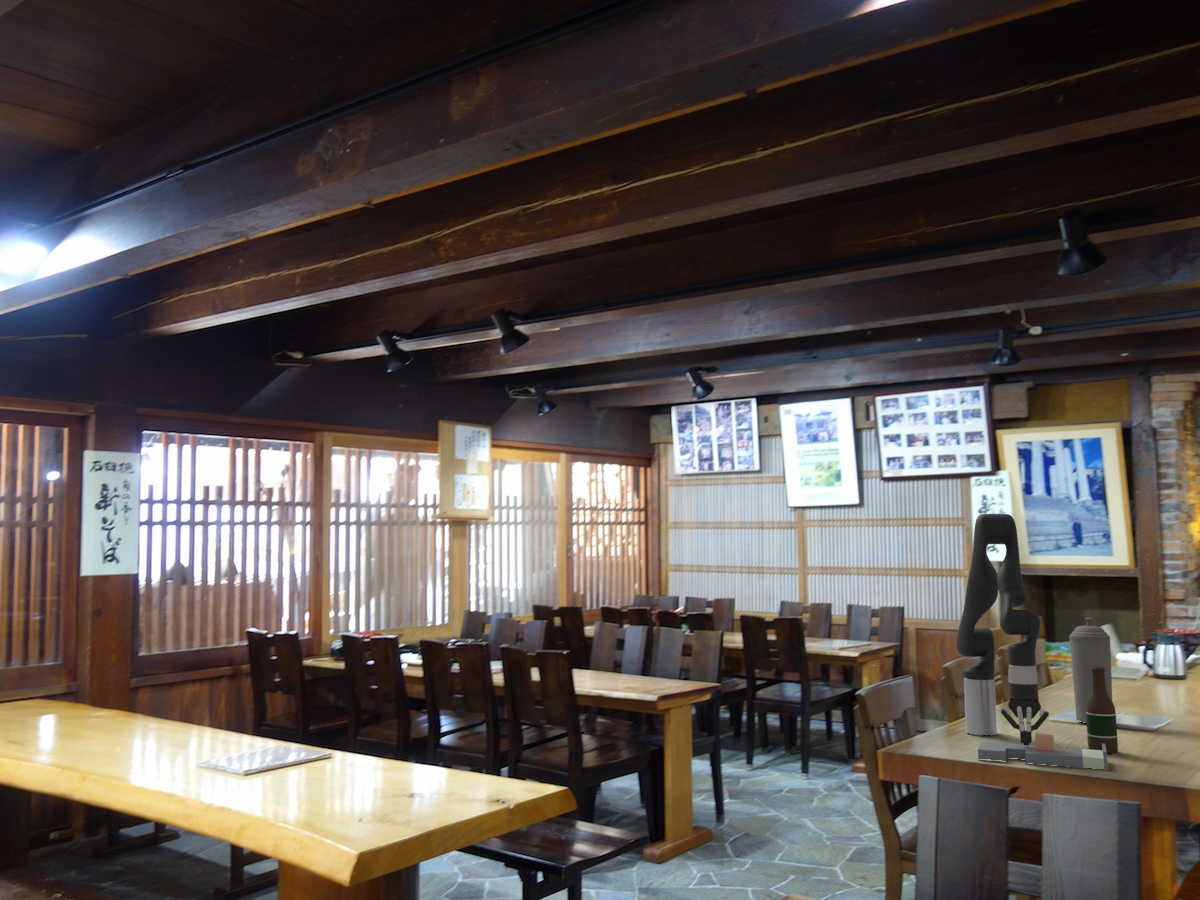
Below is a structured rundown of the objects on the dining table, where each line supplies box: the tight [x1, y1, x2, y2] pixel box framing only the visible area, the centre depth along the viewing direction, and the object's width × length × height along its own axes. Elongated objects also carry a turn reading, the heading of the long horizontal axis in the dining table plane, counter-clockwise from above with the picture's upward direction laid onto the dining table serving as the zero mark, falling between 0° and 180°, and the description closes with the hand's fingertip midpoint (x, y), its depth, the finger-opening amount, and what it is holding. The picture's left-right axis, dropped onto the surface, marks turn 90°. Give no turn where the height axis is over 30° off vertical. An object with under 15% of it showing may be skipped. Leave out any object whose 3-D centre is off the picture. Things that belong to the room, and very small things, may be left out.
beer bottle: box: [1086, 666, 1119, 754], centre depth 283 cm, size 8×8×24 cm
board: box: [977, 741, 1109, 771], centre depth 269 cm, size 12×32×5 cm, turn 65°
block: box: [1034, 731, 1055, 751], centre depth 271 cm, size 4×4×4 cm
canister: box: [1068, 617, 1113, 723], centre depth 331 cm, size 13×13×35 cm
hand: (1026, 744), depth 273 cm, fingers closed
